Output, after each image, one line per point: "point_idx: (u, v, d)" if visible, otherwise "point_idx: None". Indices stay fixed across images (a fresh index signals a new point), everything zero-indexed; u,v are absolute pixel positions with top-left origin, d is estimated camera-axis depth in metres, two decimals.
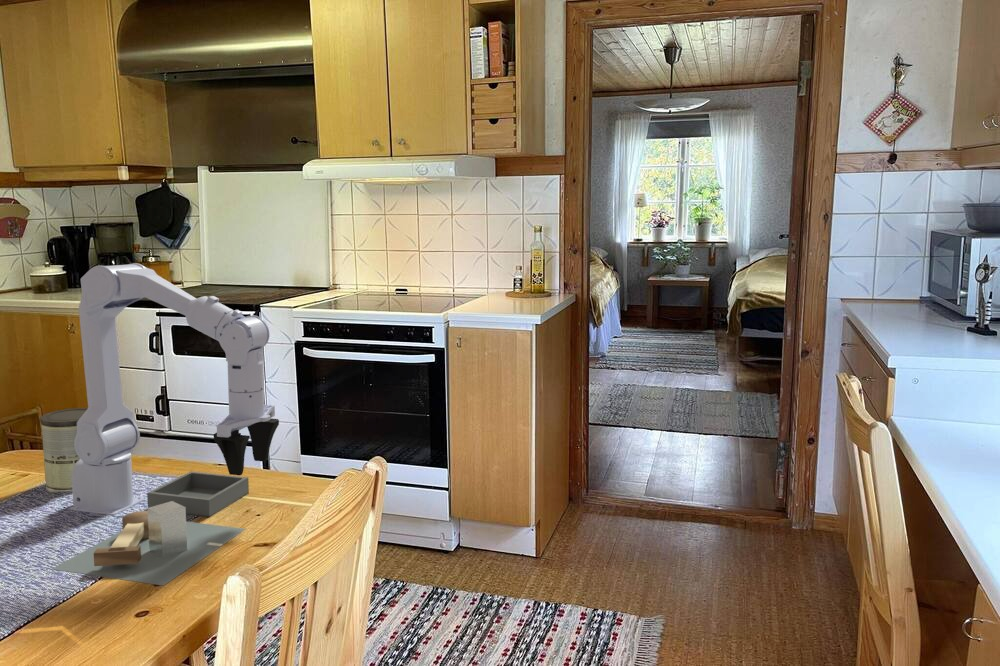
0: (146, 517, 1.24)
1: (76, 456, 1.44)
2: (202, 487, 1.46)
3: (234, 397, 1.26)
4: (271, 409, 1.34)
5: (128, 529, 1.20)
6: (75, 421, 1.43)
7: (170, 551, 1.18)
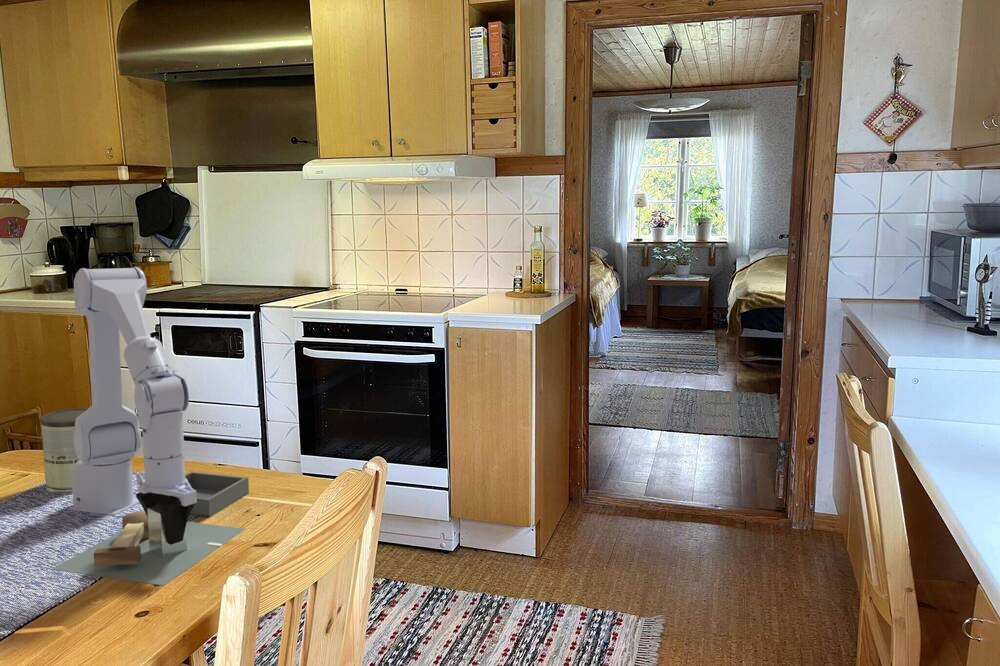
0: (146, 517, 1.24)
1: (76, 456, 1.44)
2: (202, 487, 1.46)
3: None
4: (177, 494, 1.14)
5: (128, 529, 1.20)
6: (75, 421, 1.43)
7: (170, 551, 1.18)
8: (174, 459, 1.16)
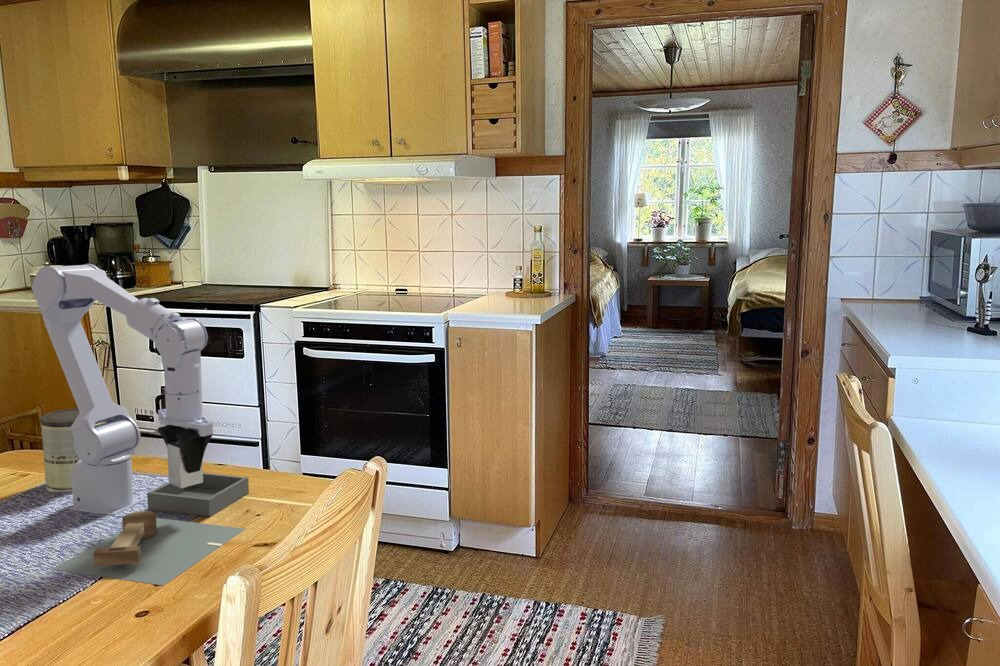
0: (146, 517, 1.24)
1: (76, 456, 1.44)
2: (202, 487, 1.46)
3: None
4: (196, 426, 1.25)
5: (128, 529, 1.20)
6: None
7: (188, 482, 1.30)
8: (193, 395, 1.28)
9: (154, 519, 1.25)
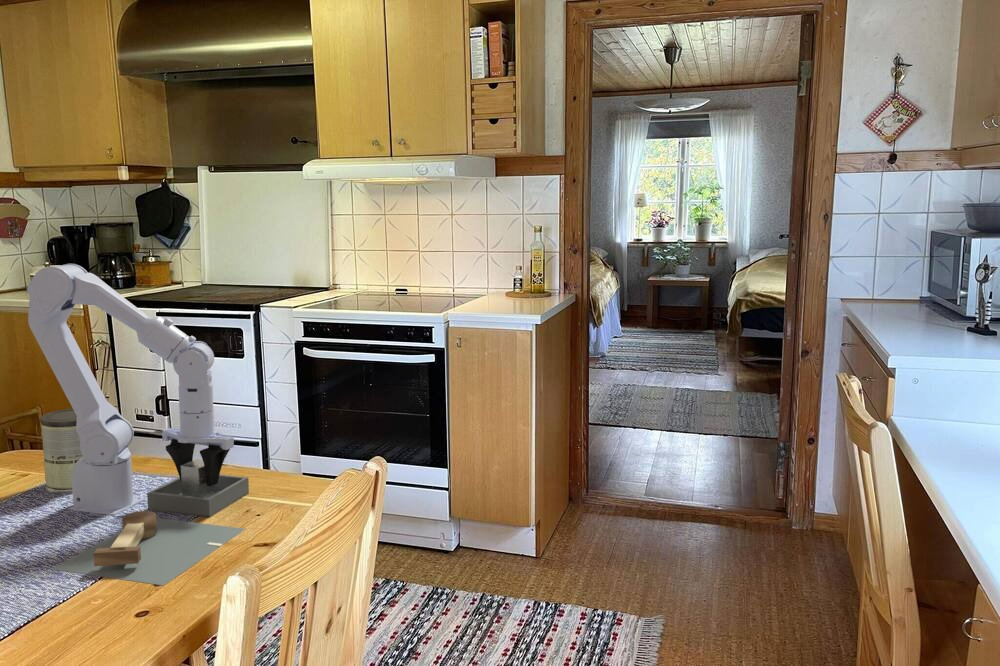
0: (146, 517, 1.24)
1: (76, 456, 1.44)
2: None
3: None
4: (218, 440, 1.36)
5: (128, 529, 1.20)
6: (75, 421, 1.43)
7: None
8: (209, 413, 1.37)
9: (154, 519, 1.25)
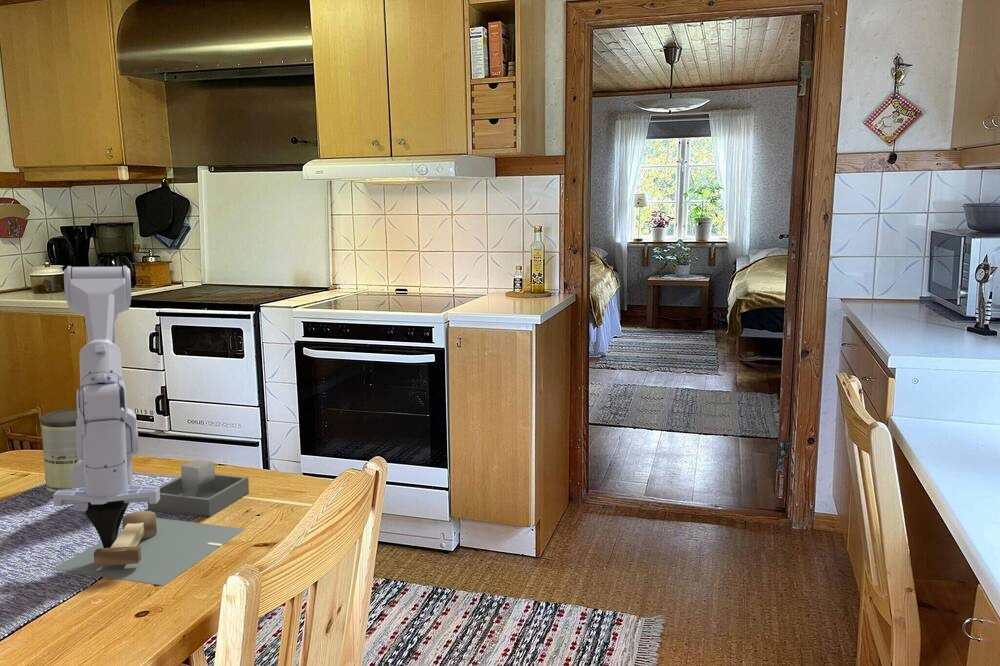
0: (146, 517, 1.24)
1: (76, 456, 1.44)
2: None
3: None
4: (145, 494, 1.15)
5: (128, 529, 1.20)
6: (75, 421, 1.43)
7: None
8: (126, 463, 1.15)
9: (154, 519, 1.25)
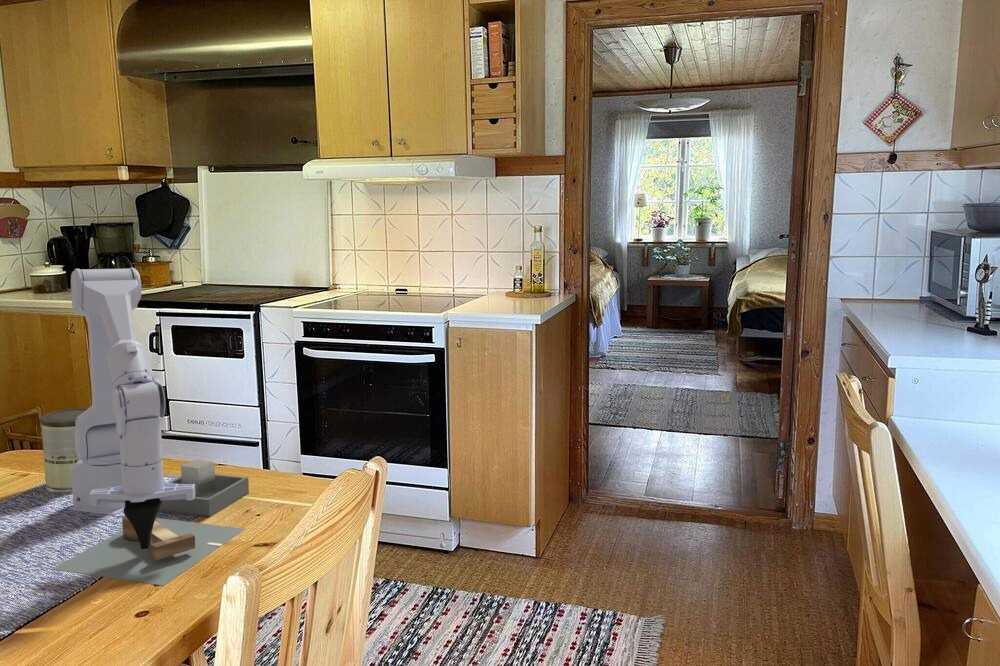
0: None
1: (76, 456, 1.44)
2: None
3: None
4: (182, 491, 1.16)
5: None
6: None
7: None
8: None
9: None
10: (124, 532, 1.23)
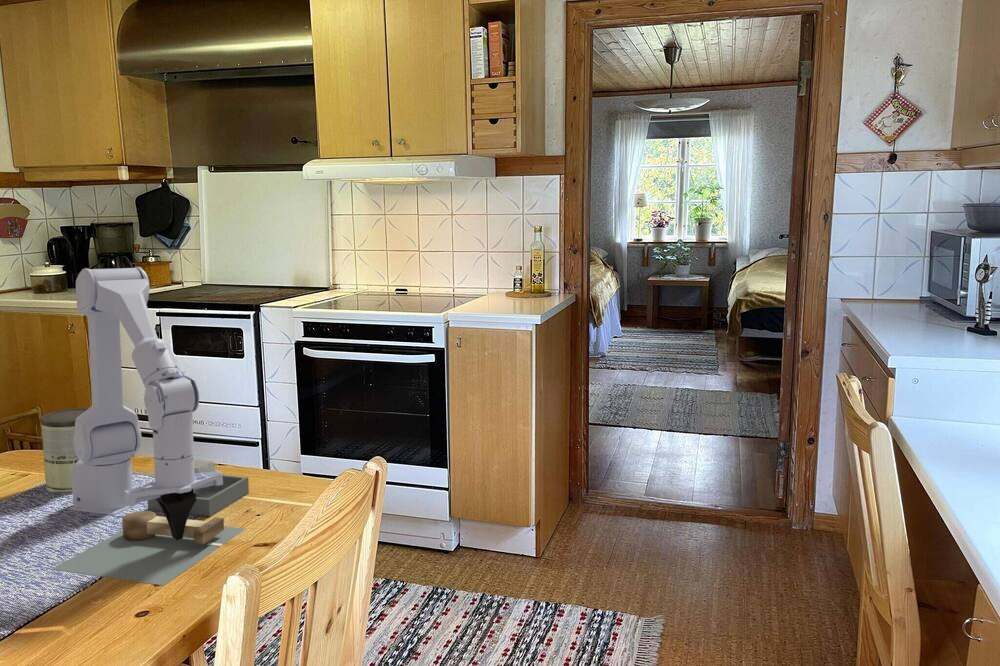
0: (147, 514, 1.26)
1: (76, 456, 1.44)
2: None
3: (154, 462, 1.17)
4: (214, 477, 1.23)
5: (163, 521, 1.23)
6: (75, 421, 1.43)
7: None
8: None
9: None
10: (130, 534, 1.23)
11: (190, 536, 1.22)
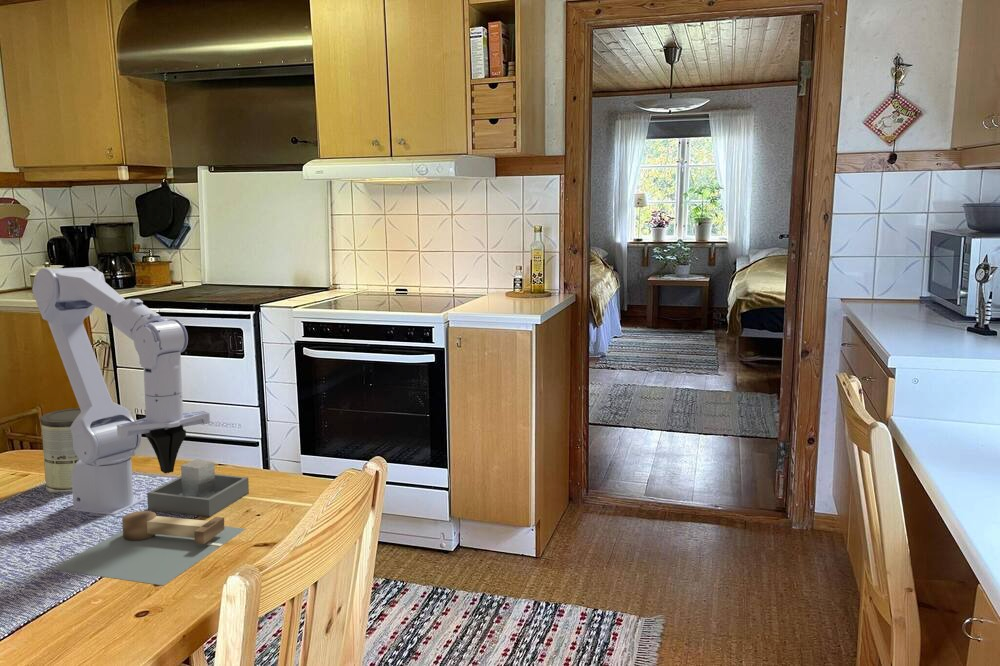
0: (147, 514, 1.26)
1: (76, 456, 1.44)
2: None
3: (145, 399, 1.26)
4: (201, 416, 1.31)
5: (164, 521, 1.23)
6: None
7: None
8: None
9: None
10: (130, 534, 1.22)
11: (191, 536, 1.22)
